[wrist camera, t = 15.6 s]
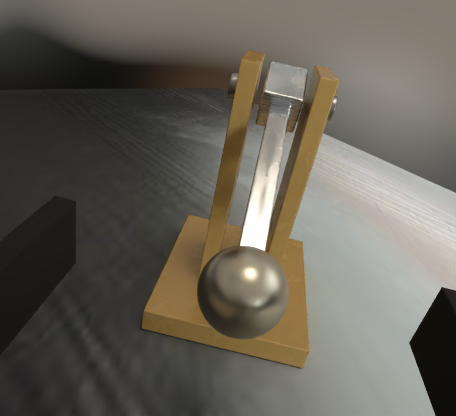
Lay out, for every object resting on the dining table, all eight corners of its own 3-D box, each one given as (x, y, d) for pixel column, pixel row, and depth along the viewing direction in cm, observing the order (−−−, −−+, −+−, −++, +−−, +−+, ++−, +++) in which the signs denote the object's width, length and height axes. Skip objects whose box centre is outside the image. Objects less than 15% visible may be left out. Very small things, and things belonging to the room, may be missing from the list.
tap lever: (271, 359, 16) (293, 333, 13) (185, 338, 16) (187, 307, 13) (306, 111, 24) (324, 61, 22) (250, 99, 25) (260, 47, 22)
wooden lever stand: (302, 368, 23) (410, 110, 16) (141, 328, 24) (172, 57, 16) (297, 255, 34) (361, 68, 27) (186, 229, 34) (218, 36, 27)
